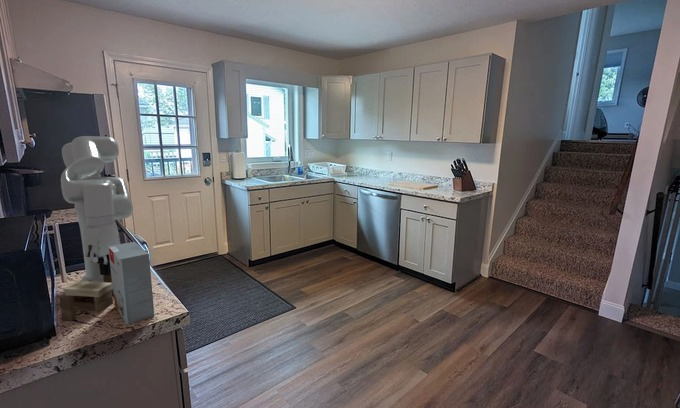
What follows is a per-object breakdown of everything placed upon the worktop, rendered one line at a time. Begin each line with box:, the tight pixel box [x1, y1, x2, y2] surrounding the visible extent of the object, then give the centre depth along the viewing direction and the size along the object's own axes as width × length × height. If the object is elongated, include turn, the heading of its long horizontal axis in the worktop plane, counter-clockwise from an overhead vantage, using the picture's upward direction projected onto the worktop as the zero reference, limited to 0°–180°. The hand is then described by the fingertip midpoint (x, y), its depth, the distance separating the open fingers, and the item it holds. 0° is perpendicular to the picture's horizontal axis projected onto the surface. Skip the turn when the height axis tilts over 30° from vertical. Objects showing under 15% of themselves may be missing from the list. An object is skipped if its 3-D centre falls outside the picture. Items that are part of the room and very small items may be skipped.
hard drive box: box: [108, 241, 155, 325], centre depth 101 cm, size 16×8×20 cm, turn 45°
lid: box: [63, 280, 113, 297], centre depth 104 cm, size 6×11×2 cm, turn 85°
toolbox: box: [58, 275, 114, 322], centre depth 104 cm, size 17×10×7 cm, turn 175°
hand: (106, 274), depth 111 cm, fingers closed
